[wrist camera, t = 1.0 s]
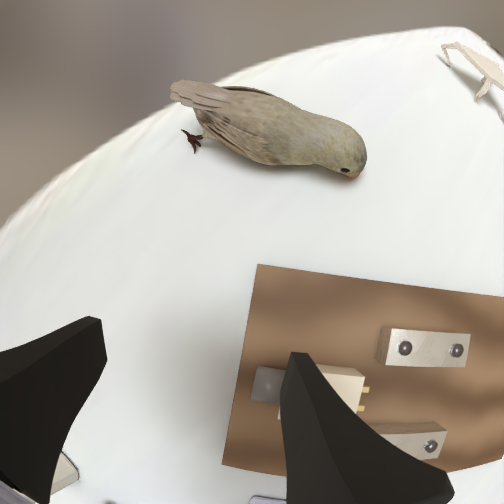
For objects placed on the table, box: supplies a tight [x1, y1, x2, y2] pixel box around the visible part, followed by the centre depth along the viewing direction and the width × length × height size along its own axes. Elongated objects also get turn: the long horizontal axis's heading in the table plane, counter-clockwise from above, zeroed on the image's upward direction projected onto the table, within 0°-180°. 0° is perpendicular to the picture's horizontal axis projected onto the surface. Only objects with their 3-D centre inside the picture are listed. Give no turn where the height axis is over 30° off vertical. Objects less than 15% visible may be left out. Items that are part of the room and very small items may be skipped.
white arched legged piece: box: [441, 42, 504, 119], centre depth 21 cm, size 12×8×5 cm
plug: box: [251, 364, 370, 420], centre depth 18 cm, size 8×4×3 cm, turn 80°
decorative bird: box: [170, 79, 367, 178], centre depth 21 cm, size 5×16×8 cm, turn 69°
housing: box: [366, 327, 471, 460], centre depth 16 cm, size 10×7×3 cm
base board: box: [222, 264, 504, 477], centre depth 18 cm, size 17×29×1 cm, turn 80°
